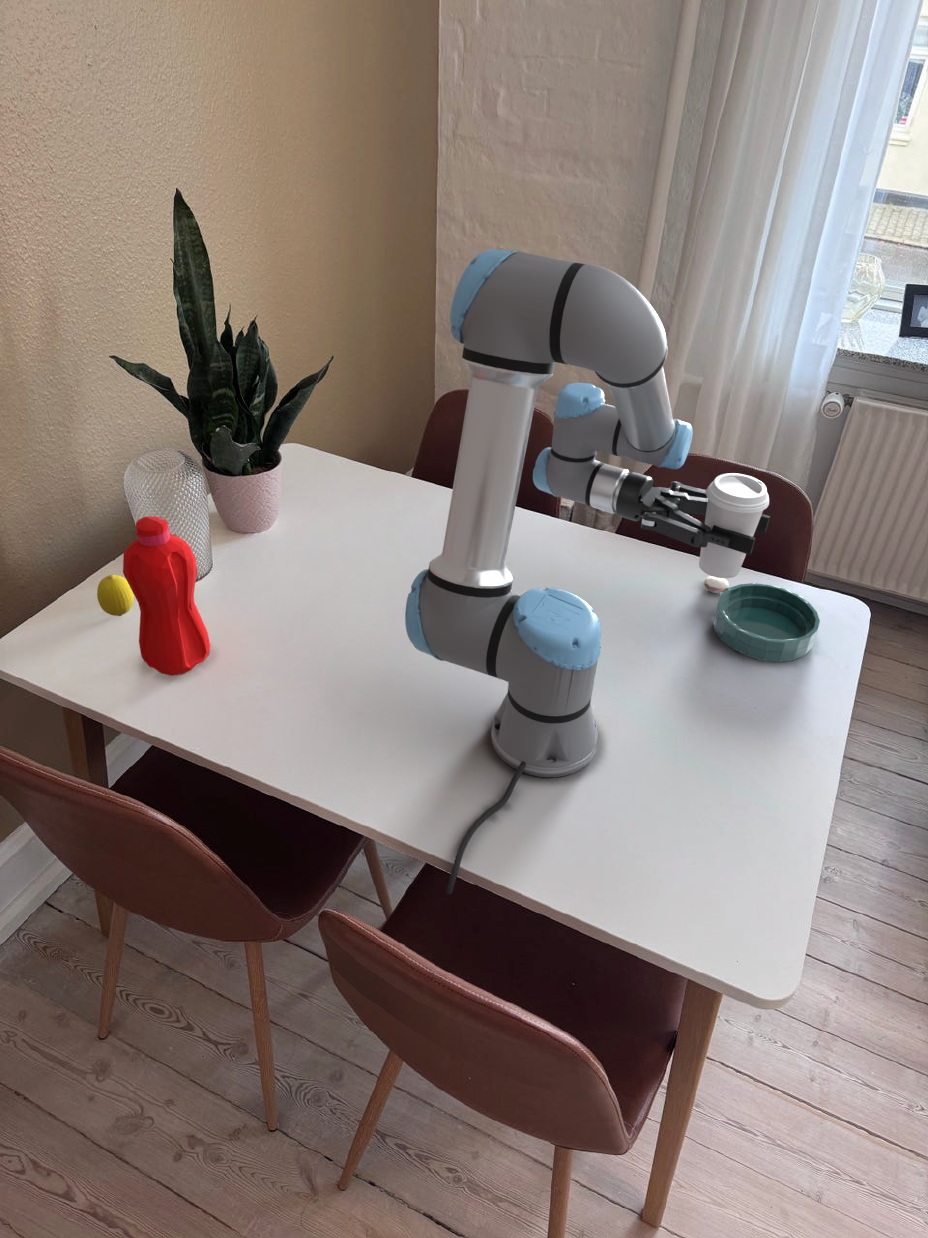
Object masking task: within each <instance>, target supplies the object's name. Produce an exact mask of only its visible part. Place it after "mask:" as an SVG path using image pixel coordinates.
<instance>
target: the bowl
mask: <svg viewBox="0 0 928 1238" xmlns="http://www.w3.org/2000/svg"><path fill="white" fill-rule="evenodd" d="M820 622H821V620H820V617H819V615H818V611H817V610H816V609H815V608H814V607H813V605H812V604H811V603H810V602H809V601H808V600H806V599H805V598H803V597H802V596H801V595H799V594H798V593H795V592H793V591H790V590H788V589H786V588H784V587H779V586H776V585H772V584H767V583H757V582H750V583H740V584H737V585H734V586H731V587H728V589H727V590H726V591H725V592H723V593H720V595H719V599H718V600H717V603H716V607H715V611H714V614H713V619H712V624H713V628H714V631H715V634H717V636H718V637H719V639H720V640H721V641H722V642H724V643H725V644H726V645H727V646H729V647H730V648H731V649H732V650H735V651H737V652H738V653H741V654H743V655H745V656H747V657H750V658H754V659H758V660H761V661H769V662H787V661H794V660H796V659H799V658H802V657H804V656H806V655H807V654H808V653H809V652H810V650H812V648H813V646H814V643H815V640H816V638H817V634H818V631H819V628H820Z"/></svg>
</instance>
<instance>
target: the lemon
mask: <svg viewBox="0 0 928 1238" xmlns="http://www.w3.org/2000/svg"><path fill="white" fill-rule="evenodd" d="M96 598H97V602H98V604H99V607H100V609H102V610H103V611H104V612H105V613H106V614H108V615H109V616H110V615H111V616H115V617H116V616H118V617H121V616H123V615H125V614H127V613H128V612H129V611H130V610H131V609H132V607H133V605H134V600H135V595H134V594H133V592H132V590H131V588H130V586H129V584H128V582H127V580H126V578H125V577H124V576H122V575H118V574H109V575H107V576H105V577H103V578H102V579H101V580H100V581H99V583H98V585H97V590H96Z"/></svg>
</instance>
